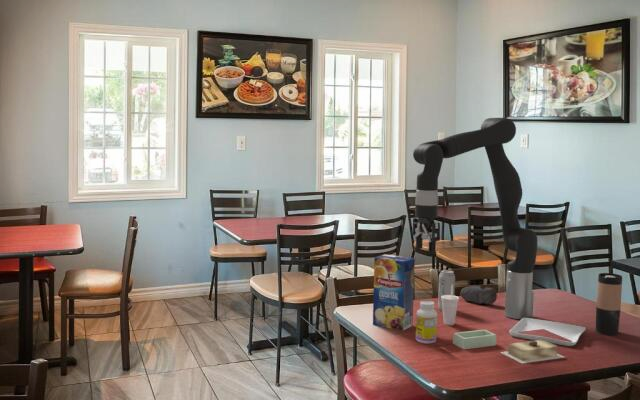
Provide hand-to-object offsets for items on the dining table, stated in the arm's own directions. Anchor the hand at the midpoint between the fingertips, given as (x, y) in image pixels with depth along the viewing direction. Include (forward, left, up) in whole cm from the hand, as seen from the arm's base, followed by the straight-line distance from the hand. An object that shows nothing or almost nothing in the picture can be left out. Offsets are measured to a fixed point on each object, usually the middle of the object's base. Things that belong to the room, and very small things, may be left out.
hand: (425, 250), depth 217 cm
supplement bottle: (+5, +10, -28) cm, 30 cm away
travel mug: (-60, +22, -28) cm, 70 cm away
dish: (-6, +21, -28) cm, 36 cm away
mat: (-17, +35, -28) cm, 48 cm away
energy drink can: (-22, -20, -28) cm, 41 cm away
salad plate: (-36, +20, -28) cm, 50 cm away
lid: (-17, +35, -26) cm, 47 cm away
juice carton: (+7, -9, -28) cm, 30 cm away
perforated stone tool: (-40, -25, -28) cm, 55 cm away
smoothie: (-13, -4, -28) cm, 31 cm away
